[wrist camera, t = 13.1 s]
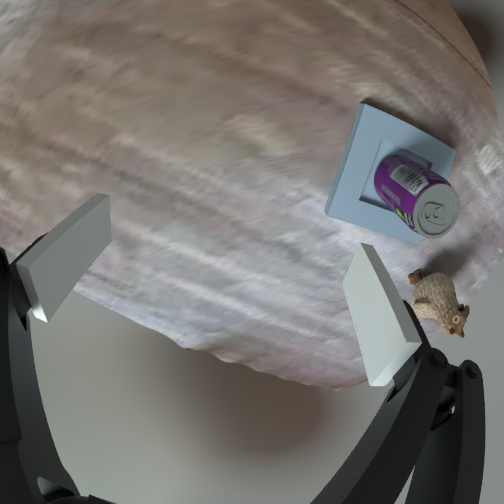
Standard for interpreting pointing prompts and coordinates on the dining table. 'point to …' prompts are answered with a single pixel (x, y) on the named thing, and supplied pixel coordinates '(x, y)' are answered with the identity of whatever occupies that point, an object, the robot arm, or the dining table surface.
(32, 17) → the dining table surface
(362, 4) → the dining table surface
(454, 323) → the figurine
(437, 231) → the beverage can
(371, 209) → the baseplate
